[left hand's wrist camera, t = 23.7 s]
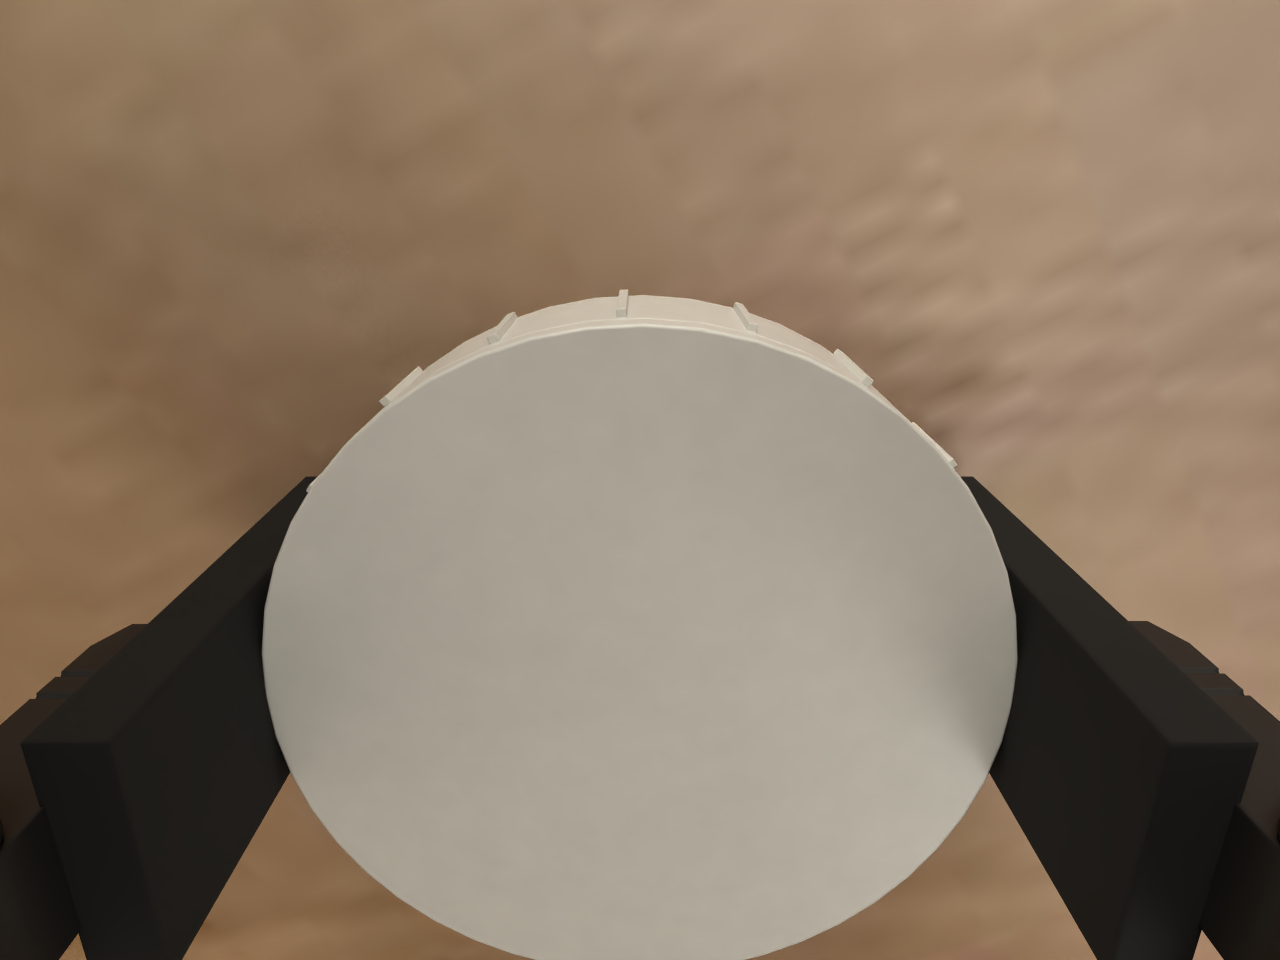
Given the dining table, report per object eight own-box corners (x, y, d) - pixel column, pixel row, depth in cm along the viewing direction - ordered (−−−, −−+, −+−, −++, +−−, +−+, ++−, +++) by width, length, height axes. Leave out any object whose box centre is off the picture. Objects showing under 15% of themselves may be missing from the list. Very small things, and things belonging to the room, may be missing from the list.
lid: (186, 501, 11) (93, 570, 10) (785, 150, 10) (821, 146, 8) (538, 935, 14) (521, 1058, 12) (1050, 713, 13) (1125, 814, 11)
